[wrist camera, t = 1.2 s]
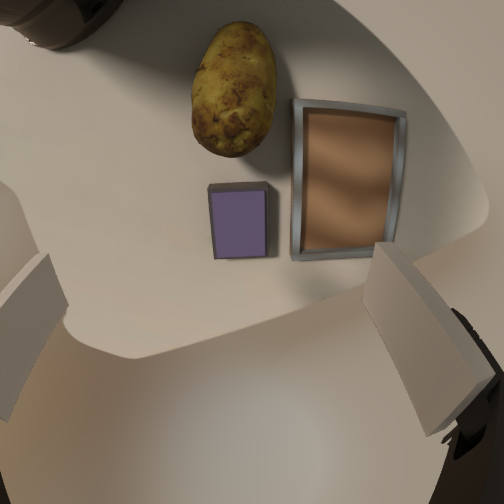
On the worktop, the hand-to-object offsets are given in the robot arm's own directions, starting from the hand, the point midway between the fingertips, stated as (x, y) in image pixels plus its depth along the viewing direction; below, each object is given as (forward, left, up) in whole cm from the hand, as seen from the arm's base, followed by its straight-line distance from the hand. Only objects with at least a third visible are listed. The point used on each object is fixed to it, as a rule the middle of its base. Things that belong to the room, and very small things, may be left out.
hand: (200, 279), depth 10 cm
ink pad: (+5, +1, -21) cm, 21 cm away
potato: (-9, +2, -21) cm, 22 cm away
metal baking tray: (+1, +13, -21) cm, 24 cm away
